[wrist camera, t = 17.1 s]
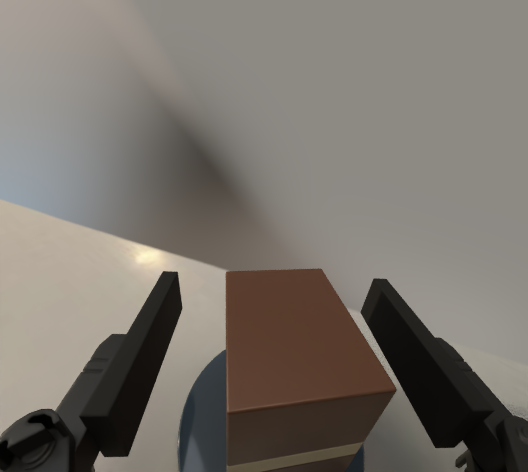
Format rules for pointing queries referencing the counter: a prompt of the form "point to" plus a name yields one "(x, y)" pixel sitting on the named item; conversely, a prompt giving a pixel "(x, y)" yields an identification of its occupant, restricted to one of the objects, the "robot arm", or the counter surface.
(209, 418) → the plate
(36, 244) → the counter surface
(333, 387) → the cake slice
